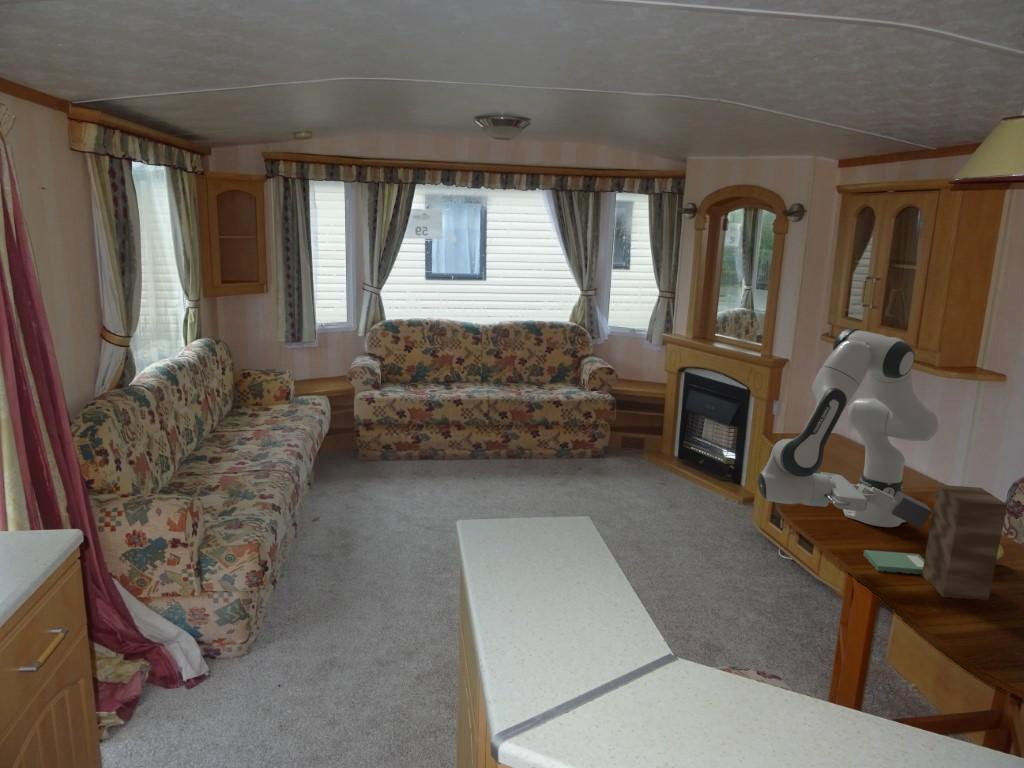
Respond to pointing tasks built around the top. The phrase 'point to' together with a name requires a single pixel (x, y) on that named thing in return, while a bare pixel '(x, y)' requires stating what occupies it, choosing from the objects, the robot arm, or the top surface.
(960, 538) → the block
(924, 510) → the plug
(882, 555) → the board
